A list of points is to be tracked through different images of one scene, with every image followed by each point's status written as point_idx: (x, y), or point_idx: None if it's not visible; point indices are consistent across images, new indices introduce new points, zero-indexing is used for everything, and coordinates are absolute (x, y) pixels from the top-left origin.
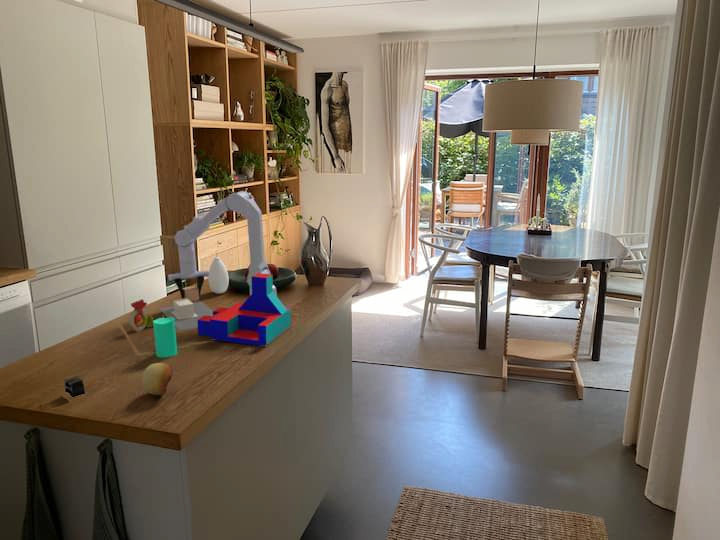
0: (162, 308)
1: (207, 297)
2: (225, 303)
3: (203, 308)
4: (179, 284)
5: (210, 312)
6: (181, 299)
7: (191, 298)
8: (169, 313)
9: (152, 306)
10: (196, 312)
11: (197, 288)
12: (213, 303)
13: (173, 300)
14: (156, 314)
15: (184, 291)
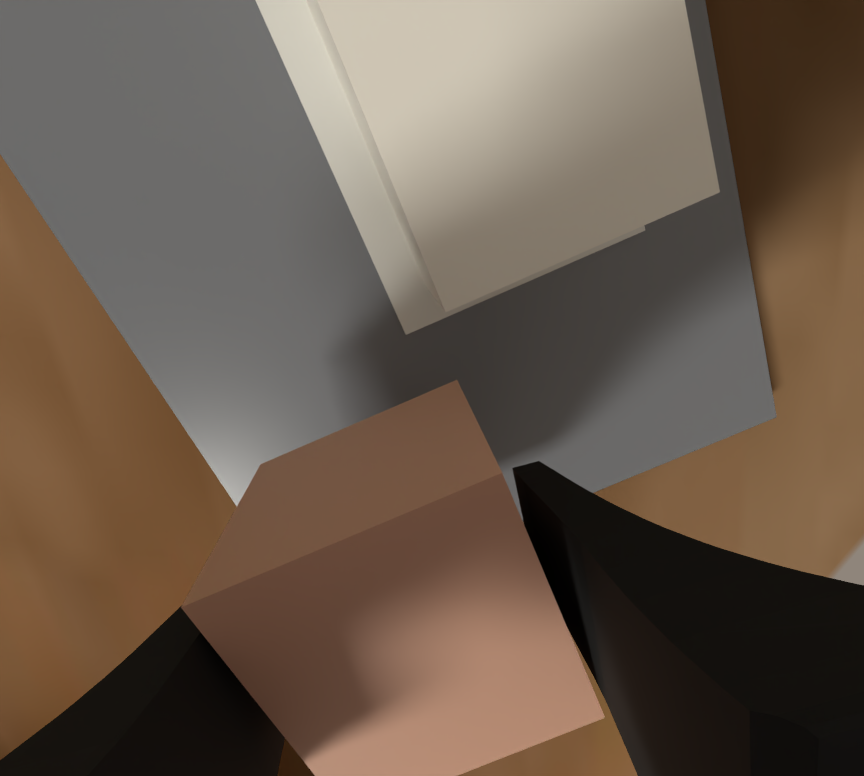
0: (741, 410)
1: (301, 771)
2: (17, 573)
3: (208, 319)
4: (794, 623)
5: (14, 54)
6: (547, 202)
7: (374, 431)
8: None
9: (811, 557)
10: (265, 112)
11: (227, 661)
12: (175, 587)
13: (712, 182)
14: (796, 254)
15: (527, 534)
